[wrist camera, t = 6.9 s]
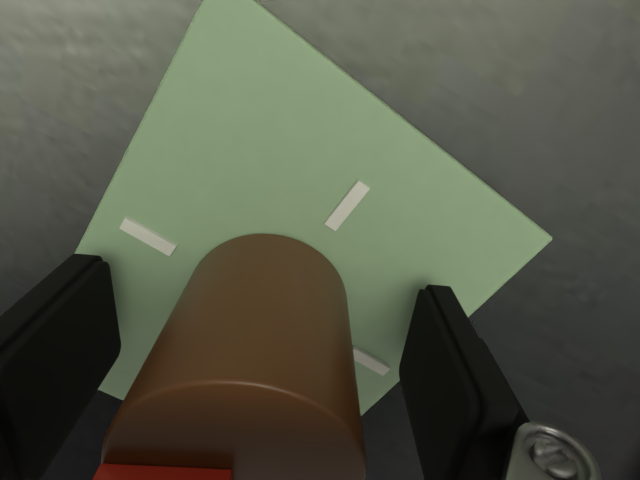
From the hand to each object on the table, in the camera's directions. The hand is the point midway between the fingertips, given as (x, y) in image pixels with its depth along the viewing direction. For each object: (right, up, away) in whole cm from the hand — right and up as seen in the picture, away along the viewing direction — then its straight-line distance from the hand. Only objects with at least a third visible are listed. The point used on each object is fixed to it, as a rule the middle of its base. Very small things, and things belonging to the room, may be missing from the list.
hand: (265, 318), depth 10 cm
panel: (0, +2, +3) cm, 4 cm away
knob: (0, 0, +1) cm, 1 cm away
